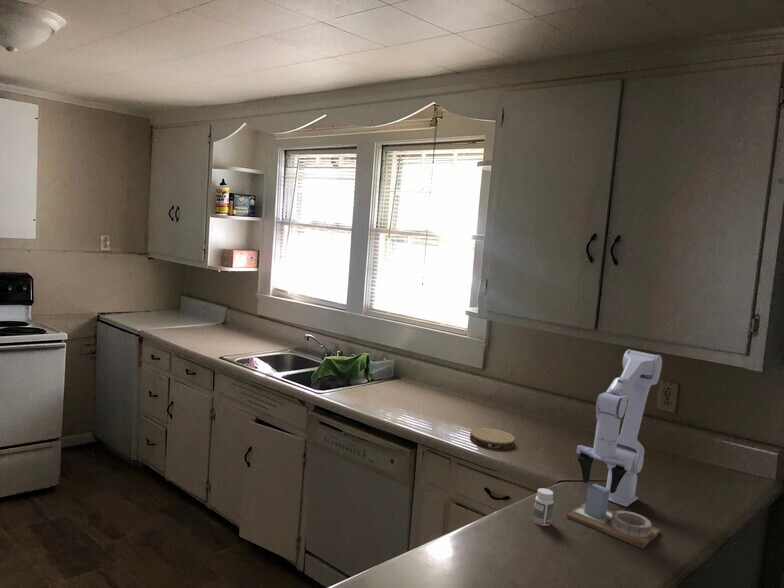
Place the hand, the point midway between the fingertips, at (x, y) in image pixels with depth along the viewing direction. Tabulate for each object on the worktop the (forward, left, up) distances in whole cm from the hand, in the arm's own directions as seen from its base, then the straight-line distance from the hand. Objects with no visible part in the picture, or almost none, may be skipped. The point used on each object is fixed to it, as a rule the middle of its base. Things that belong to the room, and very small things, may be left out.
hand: (599, 487), depth 163 cm
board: (0, +5, -9) cm, 10 cm away
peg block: (0, 0, -7) cm, 7 cm away
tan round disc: (-29, -51, -9) cm, 59 cm away
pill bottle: (+15, -8, -9) cm, 19 cm away
